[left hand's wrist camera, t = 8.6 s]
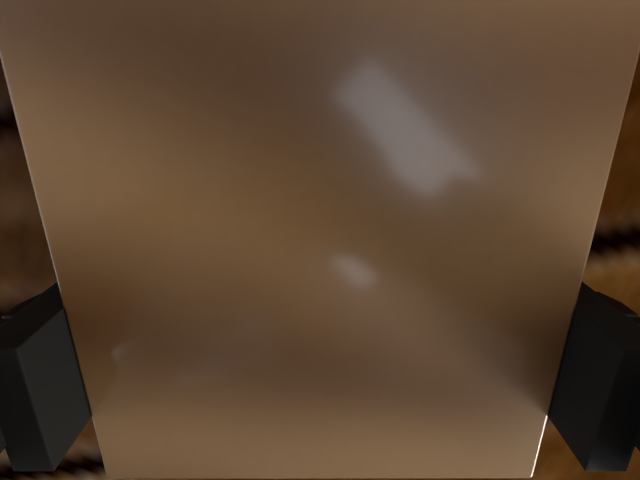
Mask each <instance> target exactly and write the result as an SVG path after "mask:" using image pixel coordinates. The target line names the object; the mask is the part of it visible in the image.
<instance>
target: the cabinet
mask: <svg viewBox="0 0 640 480" xmlns="http://www.w3.org/2000/svg"><path fill="white" fill-rule="evenodd" d="M639 53H640V0H0V60H1V63H2V67H3V71H4V75H5V79H6V83H7V87H8V91H9V95H10V99H11V103H12V107H13V110H14V114H15V118H16V122H17V126H18V130H19V134H20V138H21V142H22V146H23V150H24V154H25V157H26V161H27V165H28V169H29V173H30V177H31V181H32V185H33V189H34V193H35V197H36V201H37V204H38V208H39V212H40V216H41V220H42V224H43V228H44V232H45V236H46V240H47V244H48V248H49V251H50V255H51V259H52V263H53V267H54V271H55V275H56V279H57V283H58V287H59V291H60V295H61V298H62V302H63V306H64V310H65V314H66V318H67V322H68V326H69V330H70V334H71V338H72V342H73V345H74V349H75V353H76V357H77V361H78V365H79V369H80V373H81V377H82V381H83V385H84V389H85V392H86V396H87V400H88V404H89V408H90V412H91V416H92V420H93V424H94V428H95V432H96V436H97V439H98V443H99V447H100V451H101V455H102V459H103V463H104V467H105V471H106V475H107V477H108V478H109V479H308V478H531V477H532V476H533V473H534V469H535V465H536V461H537V457H538V453H539V449H540V445H541V441H542V437H543V433H544V429H545V425H546V421H547V417H548V413H549V409H550V405H551V401H552V397H553V394H554V390H555V386H556V382H557V378H558V374H559V370H560V366H561V362H562V358H563V354H564V350H565V346H566V342H567V338H568V334H569V330H570V326H571V322H572V318H573V314H574V310H575V306H576V302H577V299H578V295H579V291H580V287H581V283H582V279H583V275H584V271H585V267H586V263H587V259H588V255H589V251H590V247H591V243H592V239H593V235H594V231H595V227H596V223H597V219H598V215H599V211H600V207H601V203H602V200H603V196H604V192H605V188H606V184H607V180H608V176H609V172H610V168H611V164H612V160H613V156H614V152H615V148H616V144H617V140H618V136H619V132H620V128H621V124H622V120H623V116H624V112H625V108H626V105H627V101H628V97H629V93H630V89H631V85H632V81H633V77H634V73H635V69H636V65H637V61H638V57H639Z"/></svg>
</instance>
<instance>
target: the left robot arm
mask: <svg viewBox="0 0 640 480" xmlns="http://www.w3.org/2000/svg"><path fill="white" fill-rule="evenodd" d="M548 417H549V418H550V420H551V421H552V423H553V424H554V426H555V427H556V429H557V430H558V431H559V433H560V434H561V436H562V437H563V439H564V440H565V442H566V443H567V445H568V446H569V448H570V449H571V451H572V452H573V454H574V455H575V456H576V458H577V459H578V461H579V462H580V464H581V465H582V467H583V468H584V470H585V471H626V469H627V467H628V464H629V461H630V458H631V455H632V452H633V450H634V447H635V446H636V447H637V448H638V450H639V451H640V317H638V314H636V313H635V312H634V311H632V310H631V309H630V308H628V307H627V306H625V305H624V304H623V303H621V302H619V301H617V300H615V299H613V298H611V297H608V296H606V295H604V294H602V293H600V292H595V291H594V290H592V289H591V288H590V287H588V286H587V285H586V284H584V283H583V282H582V283H581V287H580V291H579V295H578V299H577V302H576V306H575V310H574V314H573V318H572V322H571V326H570V330H569V334H568V338H567V342H566V346H565V350H564V354H563V358H562V362H561V366H560V370H559V374H558V378H557V382H556V386H555V390H554V394H553V397H552V401H551V405H550V409H549V413H548ZM90 418H91V412H90V408H89V404H88V400H87V396H86V392H85V389H84V385H83V381H82V377H81V373H80V369H79V365H78V361H77V357H76V353H75V349H74V345H73V342H72V338H71V334H70V330H69V326H68V322H67V318H66V314H65V310H64V306H63V302H62V298H61V295H60V291H59V287H58V283H57V282H56V283H55V284H54V285H52V286H51V287H50V288H49V289H47V290H46V291H45V292H43V293H42V294H39V295H37V296H35V297H33V298H31V299H28V300H26V301H24V302H22V303H20V304H18V305H17V306H15V307H14V308H13V309H11V310H10V311H9V312H7V313H6V314H4V315H3V316H2V319H0V453H1V451H2V450H3V449H4V448H5V449H6V451H7V454H8V457H9V460H10V463H11V465H12V468H13V471H54V470H55V469H56V467H57V466H58V465H59V463H60V462H61V460H62V459H63V457H64V456H65V454H66V453H67V451H68V450H69V448H70V447H71V445H72V444H73V443H74V441H75V440H76V438H77V437H78V435H79V434H80V432H81V431H82V429H83V428H84V426H85V425H86V423H87V422H88V420H89V419H90Z"/></svg>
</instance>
